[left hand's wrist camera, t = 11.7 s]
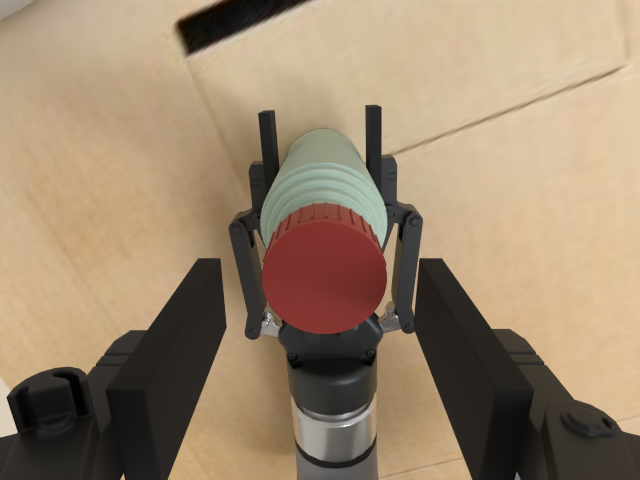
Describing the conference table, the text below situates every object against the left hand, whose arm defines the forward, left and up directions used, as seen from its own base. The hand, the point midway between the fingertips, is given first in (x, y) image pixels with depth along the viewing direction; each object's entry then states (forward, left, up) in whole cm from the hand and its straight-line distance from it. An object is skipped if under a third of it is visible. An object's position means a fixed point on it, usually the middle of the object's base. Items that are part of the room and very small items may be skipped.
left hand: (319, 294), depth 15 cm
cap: (0, 0, -1) cm, 1 cm away
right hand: (-5, -1, -16) cm, 17 cm away
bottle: (0, 0, -22) cm, 22 cm away
